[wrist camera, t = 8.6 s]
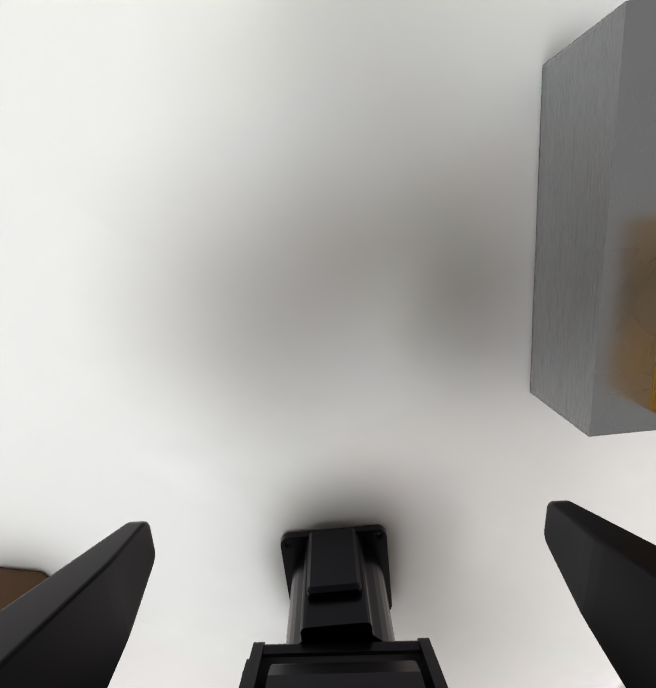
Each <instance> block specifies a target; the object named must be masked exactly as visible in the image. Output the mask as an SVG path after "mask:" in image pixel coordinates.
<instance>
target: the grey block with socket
mask: <svg viewBox="0 0 656 688" xmlns="http://www.w3.org/2000/svg"><path fill="white" fill-rule="evenodd" d="M530 392H531V393H532V394H533V395H535V396H536V397H537V398H538V399H540V400H541V401H542V402H544V403H545V404H546V405H548V406H549V407H550V408H552V409H553V410H554V411H556V412H557V413H558V414H560V415H561V416H562V417H564V418H565V419H566V420H567V421H569V422H570V423H571V424H573V425H574V426H575V427H577V428H578V429H579V430H581V431H582V432H583V433H585V434H586V435H587V436H589V437H590V436H600V435H610V434H620V433H631V432H641V431H651V430H656V0H630V1H626V2H624V3H623V4H622V5H620V6H619V7H618V8H616V9H615V10H614V11H613V12H611V13H610V14H609V15H607V16H606V17H605V18H604V19H602V20H601V21H600V22H598V23H597V24H596V25H595V26H593V27H592V28H591V29H589V30H588V31H587V32H586V33H584V34H583V35H582V36H580V37H579V38H578V39H577V40H575V41H574V42H573V43H571V44H570V45H569V46H567V47H566V48H565V49H564V50H562V51H561V52H560V53H558V54H557V55H556V56H555V57H553V58H552V59H551V60H549V61H548V62H547V63H546V64H544V65H543V81H542V106H541V132H540V157H539V183H538V208H537V234H536V259H535V285H534V310H533V336H532V361H531V387H530Z"/></svg>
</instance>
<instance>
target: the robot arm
mask: <svg viewBox="0 0 656 688" xmlns="http://www.w3.org/2000/svg"><path fill="white" fill-rule="evenodd" d="M376 533H381V534H379V535H375V534H376ZM544 535H545V540H546V543H547V545H548V547H549V549H550V551H551V553H552V555H553V557H554V560H555V562H556V564H557V566H558V568H559V570H560V572H561V574H562V576H563V578H564V580H565V582H566V584H567V586H568V588H569V590H570V592H571V594H572V596H573V598H574V600H575V602H576V604H577V606H578V608H579V610H580V612H581V614H582V616H583V617H584V619H585V621H586V623H587V624H588V626H589V628H590V629H591V631H592V633H593V634H594V636H595V638H596V639H597V641H598V643H599V644H600V646H601V648H602V649H603V651H604V652H605V654H606V656H607V657H608V659H609V661H610V662H611V664H612V666H613V667H614V669H615V671H616V672H617V674H618V676H619V677H620V679H621V681H622V682H623V684H624V685H625V687H626V688H656V545H654V544H652V543H650V542H648V541H646V540H644V539H642V538H640V537H638V536H636V535H634V534H633V533H631V532H629V531H627V530H625V529H623V528H621V527H619V526H617V525H615V524H613V523H611V522H609V521H607V520H605V519H603V518H601V517H600V516H598V515H596V514H594V513H592V512H590V511H588V510H586V509H584V508H582V507H580V506H578V505H576V504H574V503H572V502H570V501H551V502H550V503H549V504H548V506H547V512H546V520H545V529H544ZM288 541H290V542H292V543H287V542H288ZM281 550H282V556H283V562H284V568H285V574H286V580H287V586H288V592H289V598H290V608H289V619H288V630H287V641H286V644H265V642H254V644H253V647H252V651H251V655H250V658H249V659H247V660H246V664H245V667H244V671H243V673H242V678H241V682H240V685H239V688H448V686H447V683H446V681H445V678H444V676H443V673H442V670H441V668H440V665H439V663H438V660H437V658H436V655H435V652H434V650H433V647H432V645H431V642H430V640H429V638H418V640H417V641H395V638H394V633H393V627H392V621H391V616H390V609H391V607H392V601H391V588H390V575H389V562H388V550H387V537H386V531H385V528H384V527H383V526H381V525H369V526H359V527H348V528H338V529H327V530H317V531H306V532H296V533H287V534H285V535H283V536H282V538H281ZM154 559H155V549H154V544H153V539H152V534H151V529H150V525H149V524H148V523H147V522H145V521H140V522H129V523H127V524H125V525H124V526H122V527H121V528H119V529H118V530H117V531H115V532H114V533H112V534H111V535H109V536H108V537H106V538H105V539H103V540H102V541H101V542H99V543H98V544H96V545H95V546H93V547H92V548H90V549H89V550H88V551H86V552H85V553H83V554H82V555H80V556H79V557H77V558H76V559H75V560H73V561H72V562H70V563H69V564H67V565H66V566H64V567H63V568H62V569H60V570H59V571H57V572H56V573H54V574H53V575H51V576H50V577H48V578H47V579H46V580H44V581H43V582H41V583H40V584H38V585H37V586H35V587H34V588H33V589H31V590H30V591H28V592H27V593H25V594H24V595H22V596H21V597H19V598H18V599H17V600H15V601H14V602H12V603H11V604H9V605H8V606H6V607H5V608H4V609H2V610H1V611H0V688H107V687H108V685H109V683H110V680H111V678H112V676H113V673H114V671H115V669H116V667H117V664H118V662H119V660H120V657H121V655H122V653H123V650H124V648H125V646H126V643H127V641H128V638H129V636H130V633H131V630H132V627H133V625H134V622H135V618H136V615H137V612H138V609H139V606H140V603H141V600H142V597H143V594H144V591H145V588H146V585H147V582H148V579H149V576H150V573H151V570H152V567H153V564H154Z"/></svg>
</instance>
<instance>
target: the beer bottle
mask: <svg viewBox="0 0 656 688" xmlns="http://www.w3.org/2000/svg"><path fill="white" fill-rule="evenodd" d="M47 578H48V577H47V576H46V575H45V574H43V573H42V572H36V571H26V570H16V569H6V568H0V611H1V610H2V609H4V608H5V607H6V606H8V605H9V604H11V603H12V602H14V601H15V600H17V599H18V598H19V597H21V596H22V595H24V594H25V593H27V592H28V591H30V590H31V589H33V588H34V587H35V586H37V585H38V584H40V583H41V582H43V581H44V580H46V579H47Z"/></svg>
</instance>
